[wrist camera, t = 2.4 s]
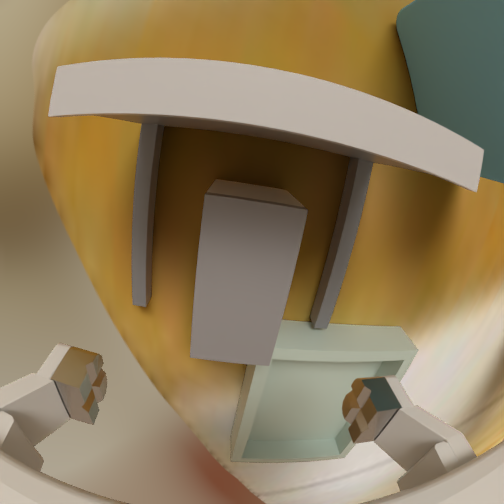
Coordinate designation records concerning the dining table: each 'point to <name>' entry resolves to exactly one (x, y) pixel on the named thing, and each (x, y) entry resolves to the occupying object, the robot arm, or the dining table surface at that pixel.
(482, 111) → the data package
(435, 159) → the bay
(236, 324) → the tall grey rectangular block
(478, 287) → the dining table surface
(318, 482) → the dining table surface
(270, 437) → the tray
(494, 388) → the dining table surface
